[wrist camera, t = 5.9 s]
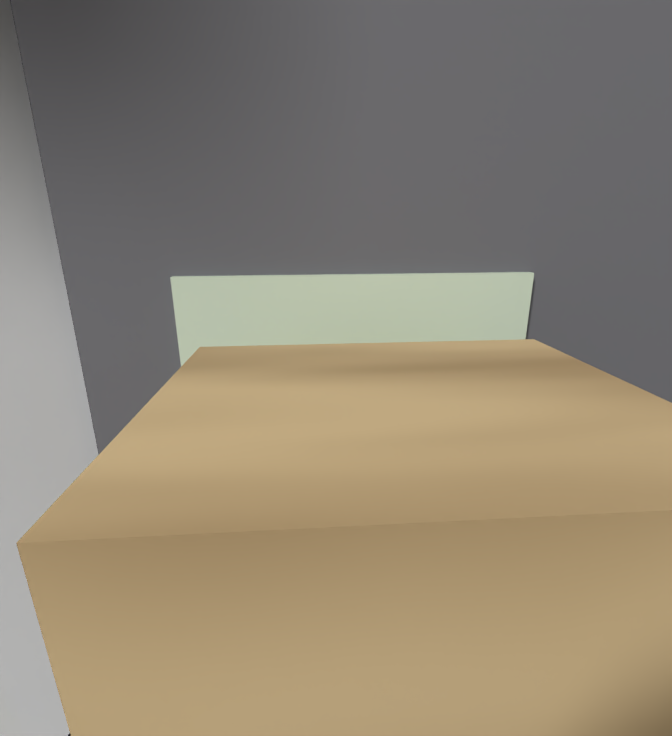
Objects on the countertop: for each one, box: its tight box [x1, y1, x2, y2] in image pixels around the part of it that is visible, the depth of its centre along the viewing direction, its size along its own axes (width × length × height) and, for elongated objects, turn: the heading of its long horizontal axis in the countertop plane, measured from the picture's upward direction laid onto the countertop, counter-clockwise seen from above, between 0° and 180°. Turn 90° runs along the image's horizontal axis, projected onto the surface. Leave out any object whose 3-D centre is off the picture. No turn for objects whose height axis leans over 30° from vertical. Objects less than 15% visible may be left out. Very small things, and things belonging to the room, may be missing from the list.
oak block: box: [17, 339, 672, 736], centre depth 6 cm, size 9×6×4 cm, turn 1°
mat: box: [10, 0, 672, 454], centre depth 10 cm, size 20×18×1 cm
